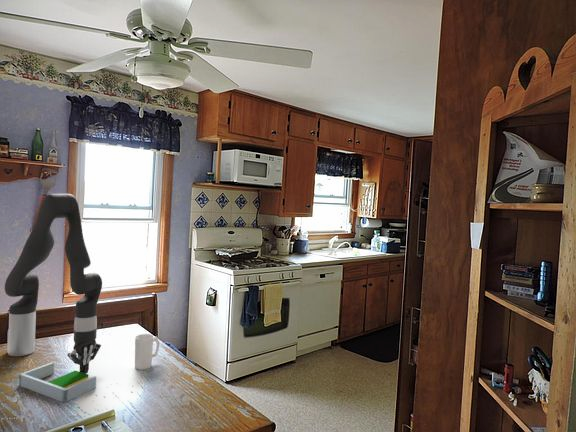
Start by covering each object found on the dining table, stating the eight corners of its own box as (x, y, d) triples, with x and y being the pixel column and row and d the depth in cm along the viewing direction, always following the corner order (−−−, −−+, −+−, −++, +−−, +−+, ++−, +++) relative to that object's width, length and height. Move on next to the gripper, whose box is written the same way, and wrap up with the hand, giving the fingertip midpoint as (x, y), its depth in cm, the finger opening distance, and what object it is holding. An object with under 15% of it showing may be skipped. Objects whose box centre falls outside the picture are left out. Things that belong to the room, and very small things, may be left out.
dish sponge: (88, 380, 145) (89, 374, 145) (53, 397, 132) (53, 390, 132) (75, 376, 148) (75, 370, 148) (39, 392, 135) (39, 385, 135)
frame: (19, 385, 138) (19, 374, 138) (51, 372, 149) (52, 362, 149) (64, 402, 129) (64, 390, 128) (95, 387, 140) (96, 376, 139)
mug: (139, 371, 154) (140, 341, 153) (131, 366, 158) (132, 336, 158) (162, 364, 161) (164, 335, 161) (154, 359, 166) (155, 331, 165)
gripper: (93, 321, 155) (92, 364, 156) (62, 330, 143) (60, 377, 144) (107, 324, 152) (105, 369, 153) (76, 334, 140) (75, 382, 141)
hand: (84, 373), depth 148 cm, fingers closed
